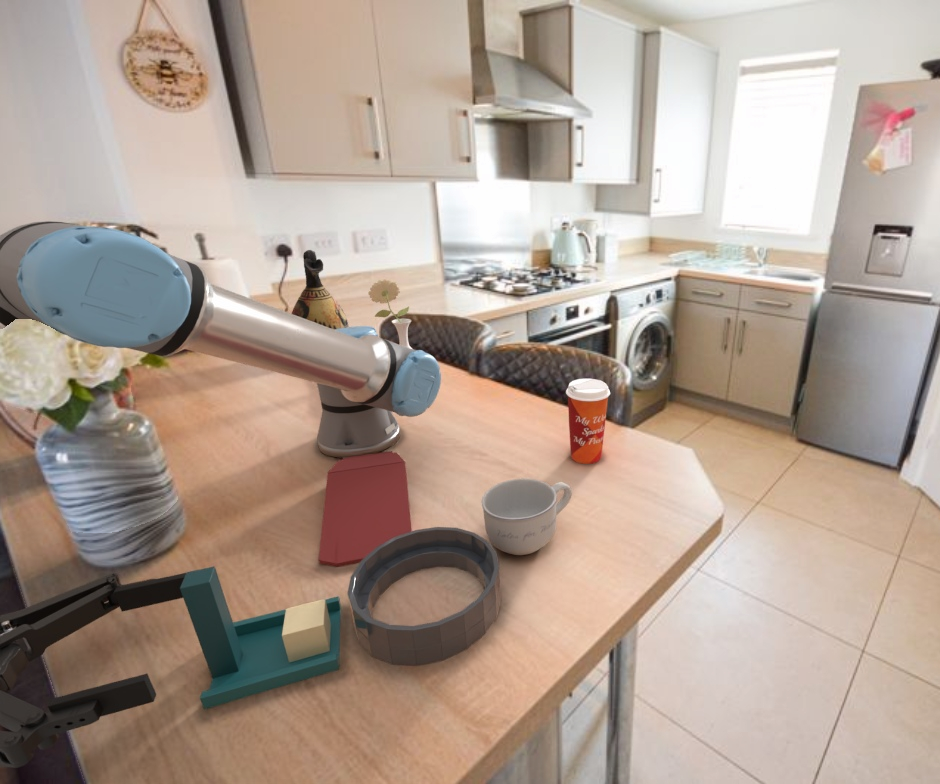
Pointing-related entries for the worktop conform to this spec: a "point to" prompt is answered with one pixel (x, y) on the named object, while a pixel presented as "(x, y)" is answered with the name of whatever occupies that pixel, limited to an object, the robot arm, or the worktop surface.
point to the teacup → (522, 514)
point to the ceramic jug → (318, 298)
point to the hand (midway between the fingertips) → (174, 629)
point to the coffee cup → (587, 418)
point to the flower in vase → (385, 294)
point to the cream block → (306, 630)
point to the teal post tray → (248, 644)
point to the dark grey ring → (410, 557)
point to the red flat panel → (363, 507)
